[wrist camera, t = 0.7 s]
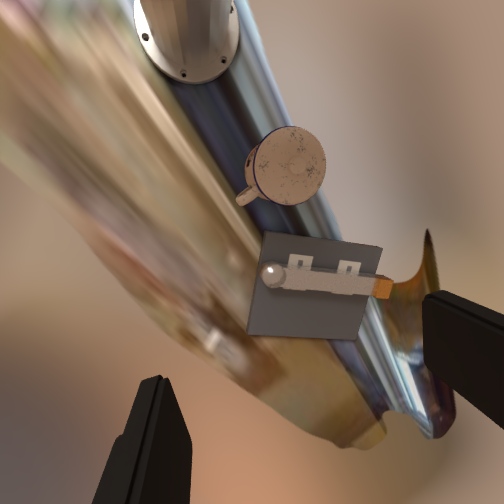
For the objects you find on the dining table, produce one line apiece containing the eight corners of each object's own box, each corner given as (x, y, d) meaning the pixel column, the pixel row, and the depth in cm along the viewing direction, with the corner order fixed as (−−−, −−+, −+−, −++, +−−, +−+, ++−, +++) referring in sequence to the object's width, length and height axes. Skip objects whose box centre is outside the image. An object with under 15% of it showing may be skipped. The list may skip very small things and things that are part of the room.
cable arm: (257, 280, 39) (261, 288, 36) (261, 258, 39) (266, 265, 36) (377, 292, 44) (389, 300, 41) (383, 273, 43) (396, 279, 40)
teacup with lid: (279, 126, 37) (311, 100, 26) (310, 178, 39) (352, 175, 28) (214, 175, 37) (218, 171, 26) (250, 224, 40) (268, 239, 28)
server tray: (264, 229, 40) (267, 232, 38) (377, 246, 45) (385, 249, 43) (246, 329, 44) (248, 336, 42) (351, 335, 49) (357, 341, 47)
